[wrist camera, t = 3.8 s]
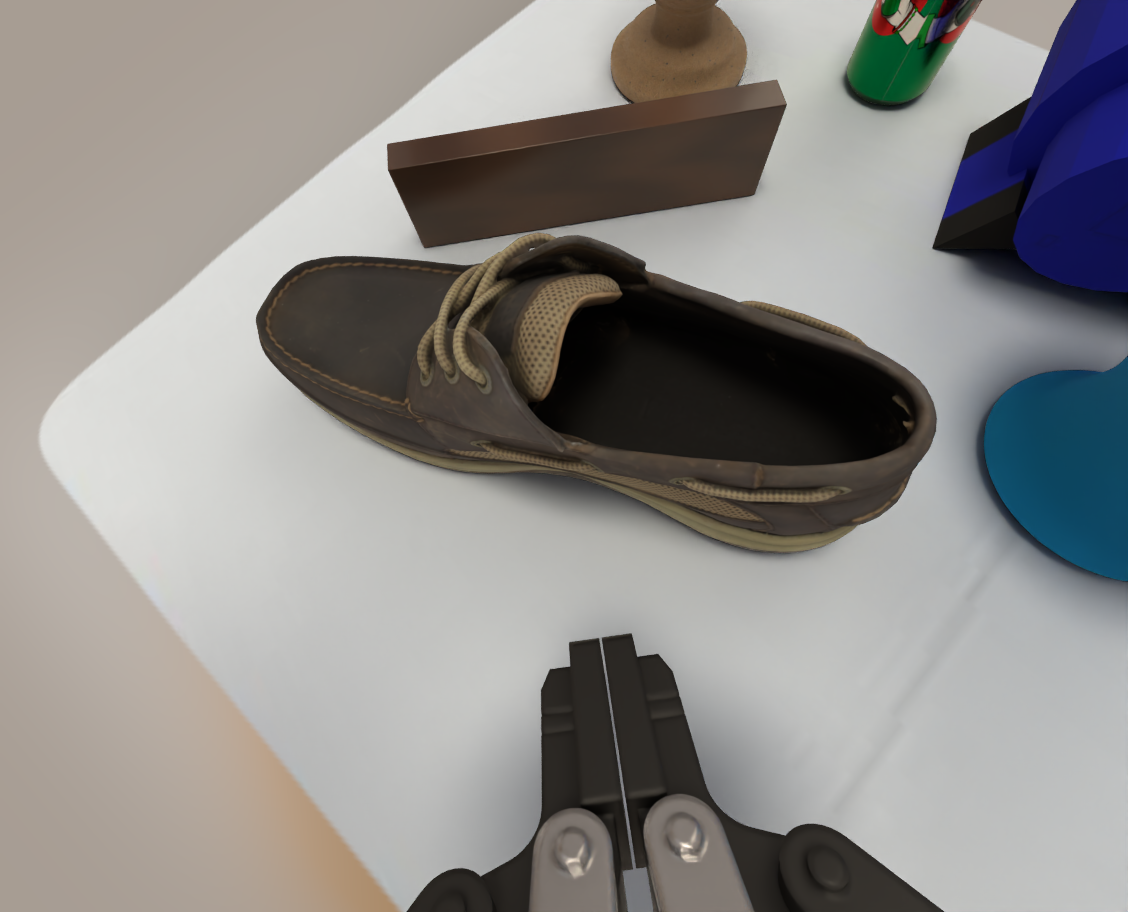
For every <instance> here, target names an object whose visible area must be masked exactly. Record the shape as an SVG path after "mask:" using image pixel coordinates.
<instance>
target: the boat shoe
mask: <svg viewBox="0 0 1128 912" xmlns="http://www.w3.org/2000/svg"><path fill="white" fill-rule="evenodd" d="M530 248H535V249H532V250H530V251H529V249H530ZM645 266H646V263H645V262H644V261H642V260H640V259H638V258H635V257H634V256H632V255H630V254H628V253H626V252H624V251H622V250H621V249H619V248H617V247H614V246H612V245H609V244H606V243H604V242H601V241H598V240H595V239H592V238H588V237H583V236H578V235H577V236H564V237H559V238H555V237H553V236H551V235H548V234H543V233H535V234H529V235H527V236H524V237H521V238H518V239H517V240H516V241H515V242H513V243H512V244H511V245H509V246H508V247H507V248H506V249H504V250H503V251H502V252H499V253H497V254H496V255H494V256H492V257H491V258H489V259H487V260H486V261H485V262H484V263H482V264H475V265H454V264H445V263H436V262H428V261H419V260H408V259H395V258H381V257H362V256H334V257H328V258H320V259H316V260H310V261H307V262H304V263H301V264H299V265H297V266H295V267H294V268H292V269H291V270H290V271H289V272H287V273H286V274H285V275H284V276H283V277H282V278H281V279H280V280H279V281H278V283H277V284H276V285H275V286H274V287H273V288H272V290H271V292H270V293H269V295H268V296H267V298H266V300H265V301H264V303H263V305H262V306H261V308H260V310H259V311H258V313H257V316H256V324H257V329H258V334H259V339H260V343H261V346H262V348H263V350H264V353H265V354H266V356H267V357H268V358H269V360H270V361H271V362H272V363H273V364H274V366H275V367H276V368H277V369H278V370H279V371H280V372H281V373H282V374H283V375H284V376H285V377H286V378H287V379H288V380H289V381H290V382H291V383H292V384H293V385H295V386H296V387H297V388H298V389H299V390H300V391H301V392H302V393H303V394H304V395H305V396H306V397H308V398H309V399H310V400H311V401H313V402H314V403H315V404H317V405H318V406H319V407H321V408H322V409H323V410H325V411H326V412H328V413H329V414H331V415H332V416H334V417H335V418H337V419H338V420H339V421H341V422H343V423H344V424H346V425H348V426H350V427H351V428H353V429H355V430H356V431H358V432H360V433H361V434H363V435H365V436H367V437H369V438H371V439H373V440H375V441H377V442H379V443H381V444H383V445H385V446H387V447H389V448H391V449H393V450H395V451H397V452H400V453H402V454H405V455H407V456H409V457H411V458H414V459H416V460H419V461H423V462H426V463H429V464H432V465H435V466H439V467H442V468H446V469H451V470H457V471H464V472H472V473H515V472H532V473H547V474H554V475H561V476H568V477H573V478H577V479H582V480H586V481H589V482H592V483H596V484H599V485H602V486H604V487H607V488H609V489H612V490H615V491H617V492H620V493H622V494H625V495H628V496H630V497H632V498H635V499H637V500H640V501H642V502H644V503H646V504H648V505H650V506H652V507H654V508H655V509H657V510H659V511H661V512H663V513H665V514H667V515H668V516H670V517H672V518H674V519H676V520H678V521H680V522H682V523H683V524H685V525H687V526H689V527H691V528H692V529H694V530H696V531H698V532H700V533H702V534H705V535H707V536H709V537H711V538H714V539H717V540H719V541H722V542H725V543H728V544H731V545H733V546H737V547H741V548H745V549H749V550H754V551H761V552H770V553H791V552H800V551H806V550H811V549H815V548H819V547H822V546H824V545H827V544H829V543H832V542H834V541H836V540H837V539H839V538H841V537H843V536H844V535H846V534H847V533H849V532H850V531H852V530H853V529H854V528H855V527H856V526H858V525H860V524H864V523H866V522H869V521H871V520H873V519H875V518H877V517H879V516H880V515H882V514H883V513H884V512H886V511H887V510H888V509H889V508H891V507H892V506H893V505H894V504H895V503H896V502H897V501H898V499H899V498H900V496H901V495H902V493H903V491H904V490H905V488H906V486H907V483H908V481H909V479H910V476H911V474H912V471H913V470H914V469H915V468H916V466H917V465H918V463H919V462H920V461H921V460H922V458H923V457H924V455H925V454H926V453H927V451H928V450H929V448H930V446H931V443H932V441H933V438H934V435H935V432H936V420H937V418H936V411H935V407H934V403H933V401H932V399H931V396H930V395H929V393H928V391H927V389H926V388H925V386H924V385H923V384H922V383H921V381H920V380H919V379H918V378H916V377H915V376H914V375H913V374H912V373H911V372H910V371H908V370H907V369H906V368H905V367H903V366H901V365H900V364H898V363H896V362H895V361H893V360H892V359H890V358H888V357H887V356H885V355H883V354H881V353H879V352H877V351H875V350H873V349H871V348H869V347H867V346H866V345H865V344H864V343H863V342H862V341H861V340H860V339H859V338H858V337H856V336H854V335H853V334H851V333H849V332H847V331H845V330H844V329H842V328H839V327H837V326H834V325H831V324H829V323H826V322H823V321H821V320H818V319H815V318H813V317H810V316H807V315H805V314H802V313H798V312H795V311H792V310H788V309H785V308H782V307H778V306H774V305H771V304H767V303H763V302H757V301H744V302H740V303H739V302H737V301H735V300H732V299H729V298H726V297H724V296H721V295H718V294H716V293H712V292H708V291H705V290H701V289H698V288H696V287H693V286H690V285H687V284H684V283H681V282H678V281H675V280H673V279H670V278H668V277H666V276H663V275H660V274H655V273H650V272H648V271H646V270H645Z"/></svg>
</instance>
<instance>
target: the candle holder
mask: <svg viewBox="0 0 1128 912" xmlns="http://www.w3.org/2000/svg"><path fill="white" fill-rule="evenodd" d="M655 1H656V4H653V5H651V6H650V7H648V8H646V9H645V10H643V11H642V12H641V13H640V14H639V15H638V16H637V17H636V18H635V19H634V20H633V21H632V22H631V23H629V24H628V25H627V26H626V27H625V28H624V29H623V30H622V31H621V32H620V34H619V35H618V36H617V38H616V40H615V42H614V44H613V48H612V52H611V72H612V76H613V79H614V81H615V84H616V86H617V87H618V88H619V90H620V91H621V92H622V93H623V94H624V95H625V96H626V97H627V98H628V99H630V100H631V101H633V102H634V103H639V102H645V101H651V100H657V99H663V98H669V97H675V96H681V95H687V94H693V93H699V92H705V91H711V90H717V89H723V88H729V87H735V86H737V84H738V83H739V81H740V79H741V77H742V74H743V71H744V68H745V65H746V59H747V47H746V43H745V40H744V38H743V36H742V35H741V33H740V31H739V30H738V29H737V28H736V27H735V26H734V25H733V23H732V21H731V20H730V18H729V17H728V15H727V14H726V13H725V12H724V11H722V10H721V9H720V8H718V7H717V6H715V4H716V2H717V1H718V0H655Z"/></svg>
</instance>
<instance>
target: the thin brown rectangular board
mask: <svg viewBox="0 0 1128 912" xmlns="http://www.w3.org/2000/svg"><path fill="white" fill-rule="evenodd" d="M786 105H787V104H786V101H785V99H784V96H783V94H782V91H781V89H780V86H779V84H778V81H777V80H772V81H766V82H760V83H753V84H747V85H741V86H735V87H729V88H723V89H717V90H711V91H705V92H699V93H693V94H687V95H681V96H675V97H669V98H663V99H657V100H651V101H645V102H639V103H632V104H626V105H620V106H614V107H608V108H602V109H596V110H590V111H584V112H578V113H572V114H566V115H560V116H554V117H548V118H542V119H536V120H530V121H524V122H518V123H511V124H505V125H499V126H493V127H487V128H481V129H475V130H469V131H463V132H457V133H451V134H445V135H439V136H433V137H427V138H421V139H415V140H409V141H403V142H397V143H390V144H387V152H388V171H389V173H390V175H391V178H392V180H393V182H394V184H395V186H396V188H397V190H398V193H399V195H400V197H401V199H402V201H403V203H404V205H405V208H406V210H407V212H408V214H409V216H410V218H411V220H412V223H413V225H414V227H415V229H416V231H417V233H418V235H419V238H420V240H421V242H422V244H423V246H424V248H426V247H432V246H438V245H445V244H451V243H457V242H463V241H469V240H476V239H482V238H488V237H494V236H501V235H507V234H513V233H519V232H525V231H532V230H538V229H544V228H550V227H556V226H563V225H569V224H575V223H581V222H588V221H594V220H600V219H606V218H612V217H619V216H625V215H631V214H637V213H644V212H650V211H656V210H662V209H668V208H675V207H681V206H687V205H693V204H700V203H706V202H712V201H718V200H724V199H731V198H737V197H743V196H749V195H754V194H755V191H756V188H757V186H758V183H759V180H760V177H761V175H762V172H763V169H764V166H765V163H766V161H767V158H768V155H769V152H770V150H771V147H772V144H773V141H774V139H775V136H776V133H777V130H778V127H779V125H780V122H781V119H782V116H783V114H784V111H785V108H786Z"/></svg>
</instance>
